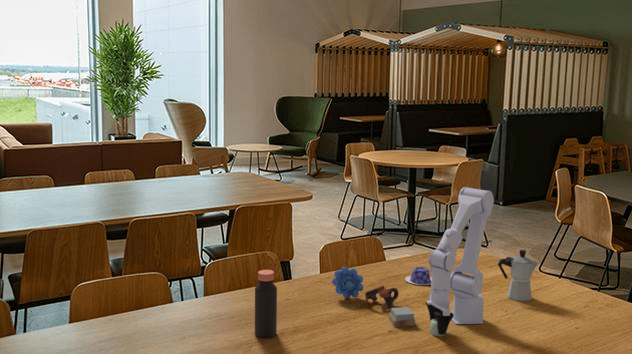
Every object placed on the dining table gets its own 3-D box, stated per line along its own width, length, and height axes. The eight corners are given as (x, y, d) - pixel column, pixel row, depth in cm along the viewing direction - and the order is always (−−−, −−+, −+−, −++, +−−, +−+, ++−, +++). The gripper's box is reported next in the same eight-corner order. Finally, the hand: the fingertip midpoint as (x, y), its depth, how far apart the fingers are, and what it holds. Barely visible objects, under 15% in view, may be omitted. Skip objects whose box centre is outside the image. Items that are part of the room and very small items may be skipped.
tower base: (408, 319, 219) (409, 311, 218) (414, 327, 212) (415, 320, 211) (388, 319, 218) (388, 312, 217) (393, 328, 211) (394, 320, 210)
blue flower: (334, 303, 230) (335, 270, 228) (330, 296, 236) (331, 264, 234) (366, 301, 232) (367, 269, 230) (361, 295, 239) (362, 263, 237)
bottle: (265, 327, 208) (265, 267, 204) (281, 333, 203) (281, 271, 200) (250, 334, 202) (250, 272, 199) (265, 340, 198) (266, 277, 195)
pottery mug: (376, 314, 222) (367, 291, 223) (367, 317, 231) (358, 295, 232) (406, 301, 226) (397, 279, 227) (396, 304, 235) (387, 282, 236)
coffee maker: (534, 294, 243) (538, 247, 240) (540, 303, 234) (543, 254, 231) (493, 292, 244) (496, 245, 241) (497, 300, 236) (500, 252, 233)
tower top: (408, 312, 217) (408, 307, 217) (413, 319, 212) (414, 313, 211) (390, 313, 216) (391, 308, 216) (396, 320, 210) (396, 314, 210)
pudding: (402, 284, 252) (403, 271, 251) (407, 275, 263) (408, 262, 262) (434, 288, 249) (434, 275, 248) (437, 278, 260) (438, 266, 259)
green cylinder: (442, 330, 209) (443, 318, 208) (447, 336, 204) (448, 324, 203) (428, 330, 208) (428, 318, 207) (432, 336, 203) (433, 324, 203)
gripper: (421, 280, 210) (419, 320, 212) (435, 296, 196) (432, 339, 198) (442, 279, 211) (440, 319, 213) (457, 295, 197) (455, 338, 199)
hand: (438, 329), depth 206 cm, fingers open, 7 cm apart
